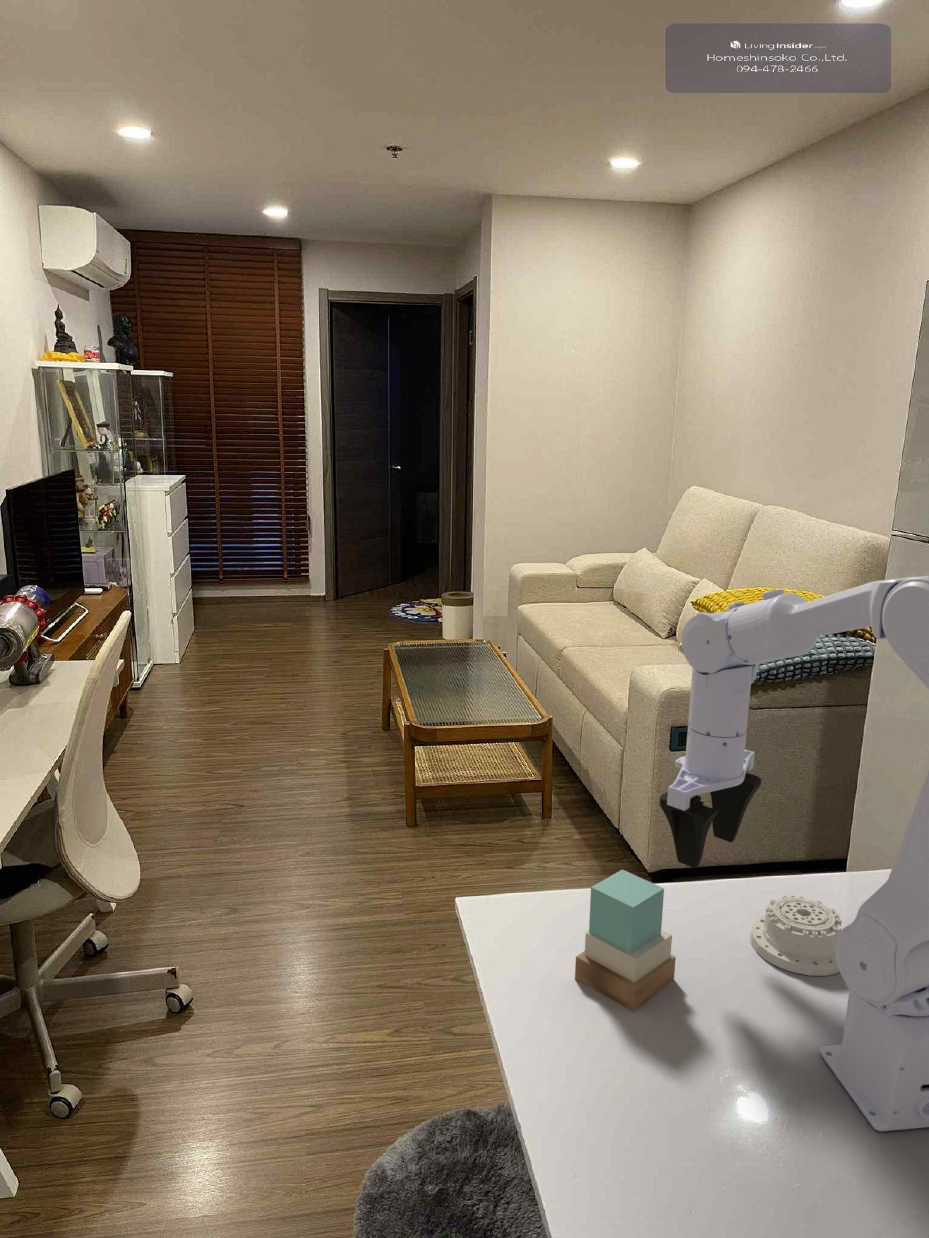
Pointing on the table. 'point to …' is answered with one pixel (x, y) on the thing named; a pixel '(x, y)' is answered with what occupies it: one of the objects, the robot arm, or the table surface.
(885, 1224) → the table surface
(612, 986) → the slab base
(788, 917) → the mechanical component
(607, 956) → the slab top
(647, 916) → the cube
